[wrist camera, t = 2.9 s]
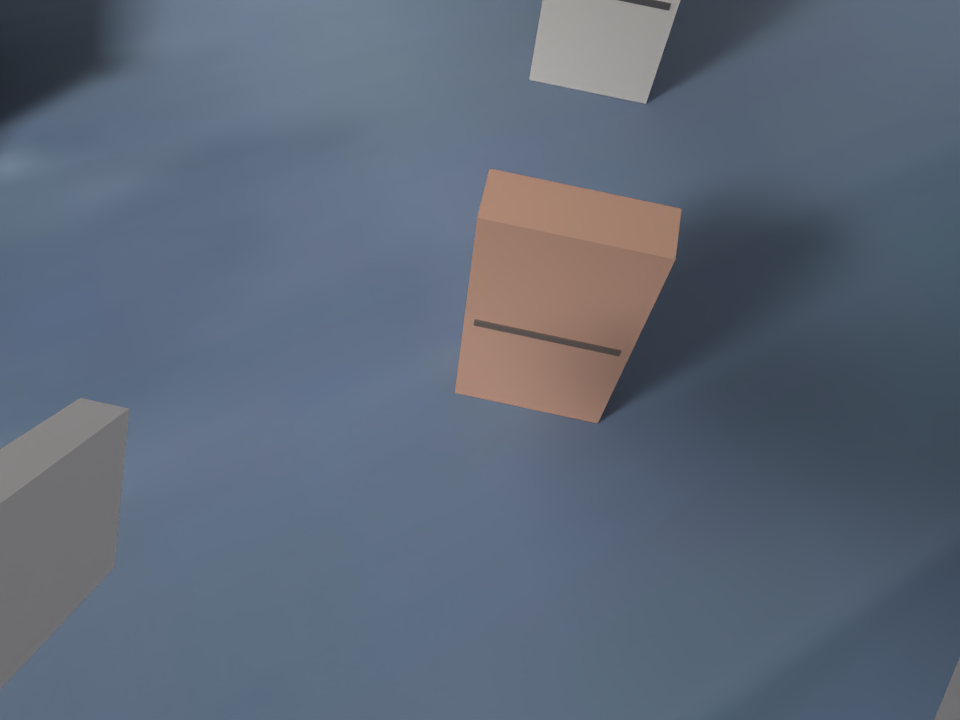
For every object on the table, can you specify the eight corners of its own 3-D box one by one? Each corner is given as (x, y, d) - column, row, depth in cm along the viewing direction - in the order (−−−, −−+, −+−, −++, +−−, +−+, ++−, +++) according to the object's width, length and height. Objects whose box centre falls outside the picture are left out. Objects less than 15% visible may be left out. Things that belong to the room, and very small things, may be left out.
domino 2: (597, 424, 32) (675, 260, 23) (454, 394, 32) (476, 219, 23) (604, 381, 32) (681, 207, 24) (464, 351, 32) (489, 166, 24)
